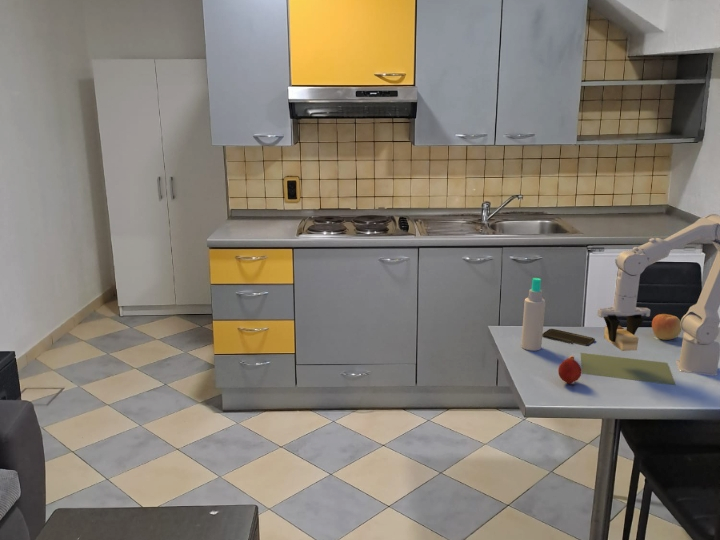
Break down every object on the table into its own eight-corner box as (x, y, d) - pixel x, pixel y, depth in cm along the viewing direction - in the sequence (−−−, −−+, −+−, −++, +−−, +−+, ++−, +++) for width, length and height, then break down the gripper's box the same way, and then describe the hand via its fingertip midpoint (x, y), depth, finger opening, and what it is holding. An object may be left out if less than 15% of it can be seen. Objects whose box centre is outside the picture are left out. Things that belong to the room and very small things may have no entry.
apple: (650, 340, 206) (653, 317, 204) (649, 332, 214) (653, 309, 212) (680, 345, 203) (684, 320, 200) (678, 335, 210) (682, 312, 208)
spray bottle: (545, 349, 197) (551, 280, 192) (529, 352, 195) (535, 282, 189) (532, 342, 203) (538, 275, 197) (516, 345, 200) (522, 277, 195)
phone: (550, 328, 214) (596, 338, 205) (550, 331, 214) (595, 341, 206) (541, 334, 208) (587, 345, 199) (540, 337, 208) (587, 348, 199)
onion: (565, 389, 170) (568, 361, 168) (553, 380, 175) (555, 353, 173) (584, 387, 172) (587, 359, 170) (571, 378, 177) (574, 351, 175)
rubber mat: (667, 364, 187) (667, 362, 187) (675, 386, 173) (675, 385, 173) (580, 353, 194) (580, 352, 194) (581, 374, 180) (581, 373, 179)
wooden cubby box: (636, 350, 178) (638, 337, 177) (622, 350, 177) (623, 338, 176) (618, 337, 187) (619, 325, 186) (603, 337, 187) (605, 325, 186)
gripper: (643, 289, 183) (636, 334, 187) (594, 290, 181) (589, 335, 185) (657, 297, 176) (650, 343, 180) (606, 298, 175) (601, 344, 178)
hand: (620, 340), depth 182 cm, fingers closed on wooden cubby box, 4 cm apart
